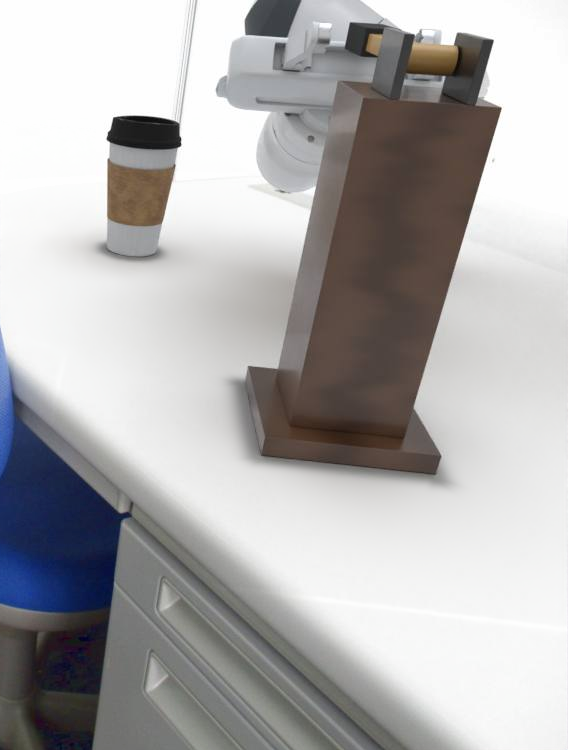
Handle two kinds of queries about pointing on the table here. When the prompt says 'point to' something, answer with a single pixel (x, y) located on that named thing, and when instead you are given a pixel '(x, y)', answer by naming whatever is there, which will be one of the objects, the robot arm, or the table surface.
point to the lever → (422, 58)
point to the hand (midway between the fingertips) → (376, 34)
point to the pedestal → (377, 264)
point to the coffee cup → (139, 181)
